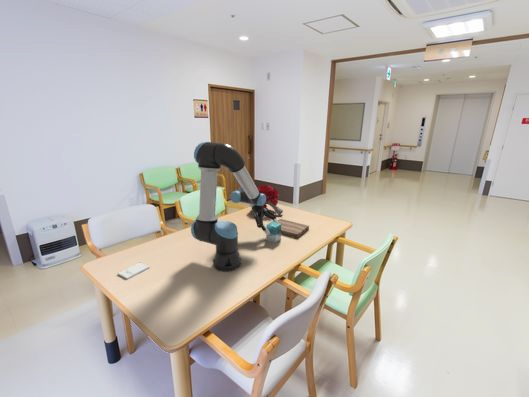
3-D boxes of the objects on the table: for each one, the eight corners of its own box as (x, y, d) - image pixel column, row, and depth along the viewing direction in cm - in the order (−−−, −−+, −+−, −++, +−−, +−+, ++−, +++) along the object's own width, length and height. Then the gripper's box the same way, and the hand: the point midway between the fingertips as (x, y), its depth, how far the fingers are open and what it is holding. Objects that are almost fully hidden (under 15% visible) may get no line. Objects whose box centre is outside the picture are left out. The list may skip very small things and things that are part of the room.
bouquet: (282, 217, 232) (257, 196, 241) (294, 197, 218) (267, 176, 227) (268, 226, 215) (242, 203, 224) (280, 206, 202) (252, 182, 211)
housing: (275, 243, 169) (275, 227, 166) (266, 240, 173) (266, 224, 169) (280, 239, 174) (281, 223, 171) (271, 236, 178) (272, 221, 175)
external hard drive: (149, 269, 139) (127, 280, 129) (140, 264, 144) (117, 275, 134) (149, 266, 139) (126, 277, 129) (139, 262, 143) (117, 272, 133)
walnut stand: (297, 238, 176) (297, 234, 175) (267, 230, 189) (267, 226, 188) (308, 229, 190) (309, 225, 189) (280, 222, 203) (280, 218, 202)
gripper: (262, 203, 188) (280, 227, 185) (241, 213, 168) (260, 240, 165) (269, 197, 184) (287, 221, 180) (247, 206, 164) (267, 234, 160)
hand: (274, 230), depth 173 cm, fingers open, 13 cm apart
